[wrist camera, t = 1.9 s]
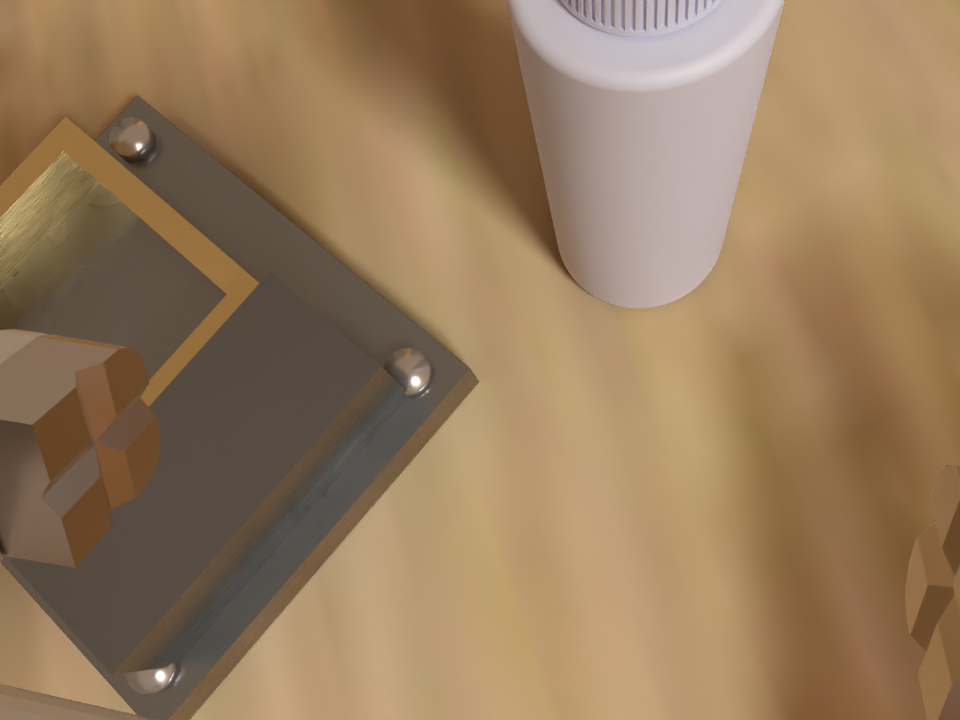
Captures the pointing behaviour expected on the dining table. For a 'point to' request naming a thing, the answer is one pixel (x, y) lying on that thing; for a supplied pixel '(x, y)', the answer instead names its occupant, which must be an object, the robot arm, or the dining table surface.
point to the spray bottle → (642, 132)
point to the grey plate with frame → (209, 396)
